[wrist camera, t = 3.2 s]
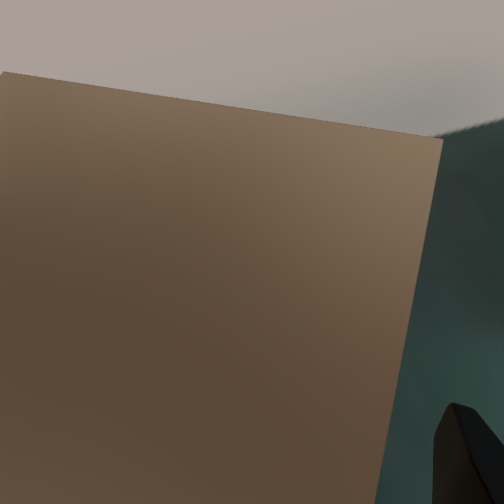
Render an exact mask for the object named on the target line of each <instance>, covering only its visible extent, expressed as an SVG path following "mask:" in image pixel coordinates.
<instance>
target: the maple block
mask: <svg viewBox="0 0 504 504" xmlns="http://www.w3.org/2000/svg"><path fill="white" fill-rule="evenodd" d="M443 140H444V139H438V138H432V137H425V136H419V135H413V134H406V133H400V132H393V131H386V130H380V129H374V128H367V127H361V126H354V125H348V124H341V123H335V122H328V121H321V120H315V119H308V118H302V117H296V116H288V115H283V114H276V113H270V112H263V111H257V110H250V109H243V108H237V107H230V106H224V105H218V104H211V103H205V102H198V101H191V100H185V99H178V98H172V97H165V96H159V95H153V94H146V93H140V92H133V91H127V90H120V89H114V88H107V87H101V86H94V85H88V84H81V83H75V82H68V81H61V80H55V79H48V78H42V77H36V76H29V75H23V74H16V73H10V72H3V73H2V74H1V76H0V504H374V503H375V498H376V492H377V487H378V482H379V476H380V471H381V466H382V461H383V455H384V450H385V445H386V440H387V434H388V429H389V424H390V419H391V413H392V408H393V403H394V398H395V392H396V387H397V382H398V376H399V371H400V366H401V361H402V355H403V350H404V345H405V340H406V334H407V329H408V324H409V319H410V313H411V308H412V303H413V297H414V292H415V287H416V282H417V276H418V271H419V266H420V261H421V255H422V250H423V245H424V240H425V234H426V229H427V224H428V219H429V213H430V208H431V203H432V197H433V192H434V187H435V182H436V176H437V171H438V166H439V161H440V155H441V150H442V145H443Z"/></svg>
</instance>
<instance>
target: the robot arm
mask: <svg viewBox="0 0 504 504" xmlns="http://www.w3.org/2000/svg"><path fill="white" fill-rule="evenodd" d="M432 504H504V445H503V444H502V442H501V441H500V440H499V439H498V437H497V436H496V435H495V434H494V433H493V431H492V430H491V429H490V428H489V426H488V425H487V424H486V423H485V421H484V420H483V419H482V418H481V416H480V415H479V414H478V413H477V412H476V411H475V410H474V409H472V408H470V407H467V406H464V405H461V404H457V403H450V404H449V405H448V407H447V408H446V410H445V413H444V415H443V417H442V419H441V421H440V423H439V425H438V427H437V429H436V432H435V436H434V448H433V492H432Z"/></svg>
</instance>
